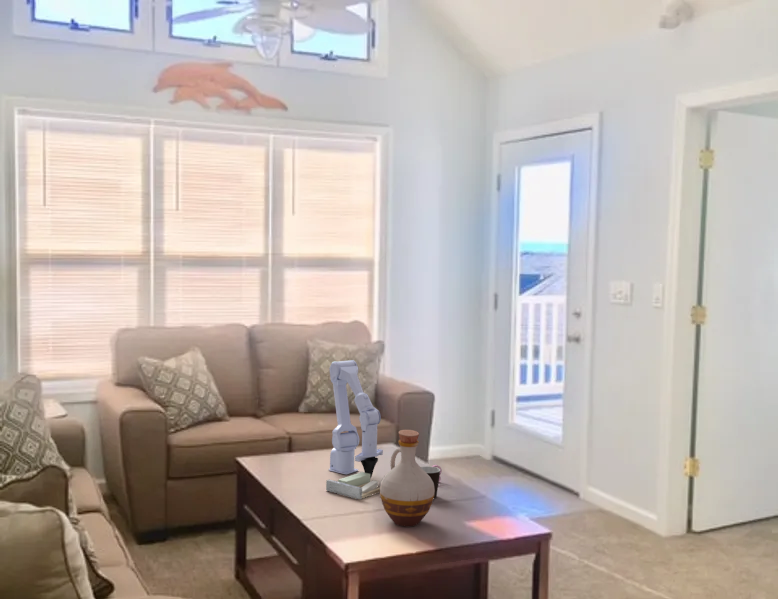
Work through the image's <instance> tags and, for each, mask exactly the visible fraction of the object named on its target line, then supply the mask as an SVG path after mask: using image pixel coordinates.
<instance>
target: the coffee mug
mask: <svg viewBox="0 0 778 599" xmlns="http://www.w3.org/2000/svg"><path fill="white" fill-rule="evenodd" d="M420 467H421V468H422V469H423V470H424V471H425V472H426V473H427V474H428V475H429V476H430V478H431V479H432V481H433V483H434V489H435V492H434V498H435V499H437V495H438V488H439V482H440V481H439V476H440V477H441V474H440V469H439V468H438V467H431V466H430V465H429V466H428V465H427V466H425V465H424V466H420Z"/></svg>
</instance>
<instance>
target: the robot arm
mask: <svg viewBox="0 0 778 599" xmlns="http://www.w3.org/2000/svg"><path fill="white" fill-rule="evenodd" d="M358 375H359V367H358V364H357V362H356V361H355V360H354V359H351V360H340V361H339V360H338V361H336V360H334V361H332V362H331V363H330V366H329V377H330V382H331V383H332V388H333V396H334V405H335V412H336V421H337V426H336V427H335V428H333V430H332V431H331V432H332V438H331V443H332V447H333V448H332V449H331V451H330V455H329V468H328V471H330V472H335V473H339V474H343V475H351V474H352V473H355V472H358V470H359V469H358V468H355V462H357V463H359V462H360V463H361V465H362V467H363V472H365V473H369V474H370V478H372V477H373V473H374V469H375V467H376V464H378V462H379V456H382V455H383V454H384V453H383V452H384V449H380V448H378V425H379V424H380V423H381V421H382V420H381V419H382V417H381V413H380V410H378V409H377V408H376V407H374V405H373V403H372V401H371V398H370V397H369V395H368V393H366V392H364V390H363V387H362V384H361V381H360V379H359V376H358ZM347 384H348V386H349V387H350V389H351V391H352V393H353V395H354V396H355V397H354V400H353V401H354V404H355V405H356V408H357V410H358V413H359V419H358V420H359V423H360V428H361V452H360V453H358V454H357V455H355V452H356V451H355V450H356V449H357V448H358V447H359V444H360V436H359V434H358V431H357V430H358V428H357V427H356V426H355V425H353V424H352V423H351V422H352V421H351V415H350V406H349V397H348V390H347ZM359 471H360V470H359Z"/></svg>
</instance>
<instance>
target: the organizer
mask: <svg viewBox="0 0 778 599" xmlns="http://www.w3.org/2000/svg"><path fill="white" fill-rule="evenodd" d="M325 482H326V484H325V487H326V489H325V491H326V490H327V491H326V492H328V491H330V492H329V493H332V492H334V493H333V494H335V493H337V494H336V495H339V494H340V495H339V496H343V495H344V496H343V497H346V496H348V497H347V498H350V497H351V498H350V499H354V498H356V499H355V500H357V499H360V500H363V499H366V498H368V497H367V496H369V497H371V496H373V495H372V494H374V495H376V494H375V493H377V494H378V492H379V493H380V487H377V488H375V489H374V490H372V491H369V492H366V493H363V494H362V488H361V487H363V486H364V485H366V484H368V483H369V482H368V483H365V484H362V485H359V486H353V485H349V484H345V483H341V482H338V480H337V481H336V480H334V479H333V480H332V479H327V480H326V481H325ZM370 495H371V496H370ZM365 497H366V498H365ZM362 498H363V499H362Z"/></svg>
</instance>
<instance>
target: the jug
mask: <svg viewBox="0 0 778 599" xmlns="http://www.w3.org/2000/svg"><path fill="white" fill-rule="evenodd" d="M398 436H399V439H398V445H399V447H397V448H396V449H395V450H393V452H392V453H391V457H390V470H389V471H388V472H387V473H386V474H385V475H384V476H383V478H382V480H381V482H380V487H379V488H380V492H379V496H380V499H381V504H382V506H383V509H384V512H385V513H386V514H387V515H388V517H389V518H390V519H391V521H392V522H393V523H394V524H395V526H396V525H397V526H400V527H404V528H405V527H406V528H407V527H408V528H410V527H414V526H415V527H416V526H418V525H419V524H420V523H421V521H423V519H424V518H425V517H426V515H427V514H428V513H429V512H430V509H431V507H432V504H433V502H434V499H433V498H434V492H435V489H434V483H433V481H432V479H431V478H430V476H429V475H428V474H427V473H426V472H425V471H424V470H423V469H422V468H421V467H422V466H420V465H419V464H418V463H417V461H416V452H417V448H418V446H419V442H420V441H419V440H418V439H419V436H420V433H419V432H418V431H417V430H413V429H401V430H399V431H398ZM399 453H400V456H401V457H400V461H399V462H398V463H397V464H396V458H397V455H398V454H399ZM395 464H396V465H395Z"/></svg>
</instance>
